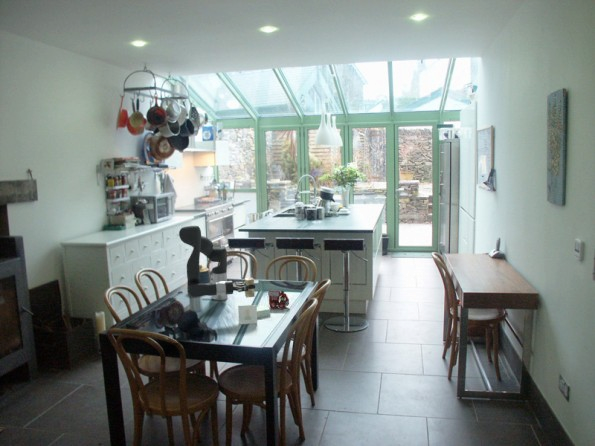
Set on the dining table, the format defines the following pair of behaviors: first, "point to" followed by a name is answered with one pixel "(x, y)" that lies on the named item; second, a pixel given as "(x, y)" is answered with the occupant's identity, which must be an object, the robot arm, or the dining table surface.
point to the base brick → (263, 311)
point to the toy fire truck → (275, 297)
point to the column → (251, 291)
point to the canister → (204, 275)
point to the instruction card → (247, 314)
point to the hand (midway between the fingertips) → (254, 285)
